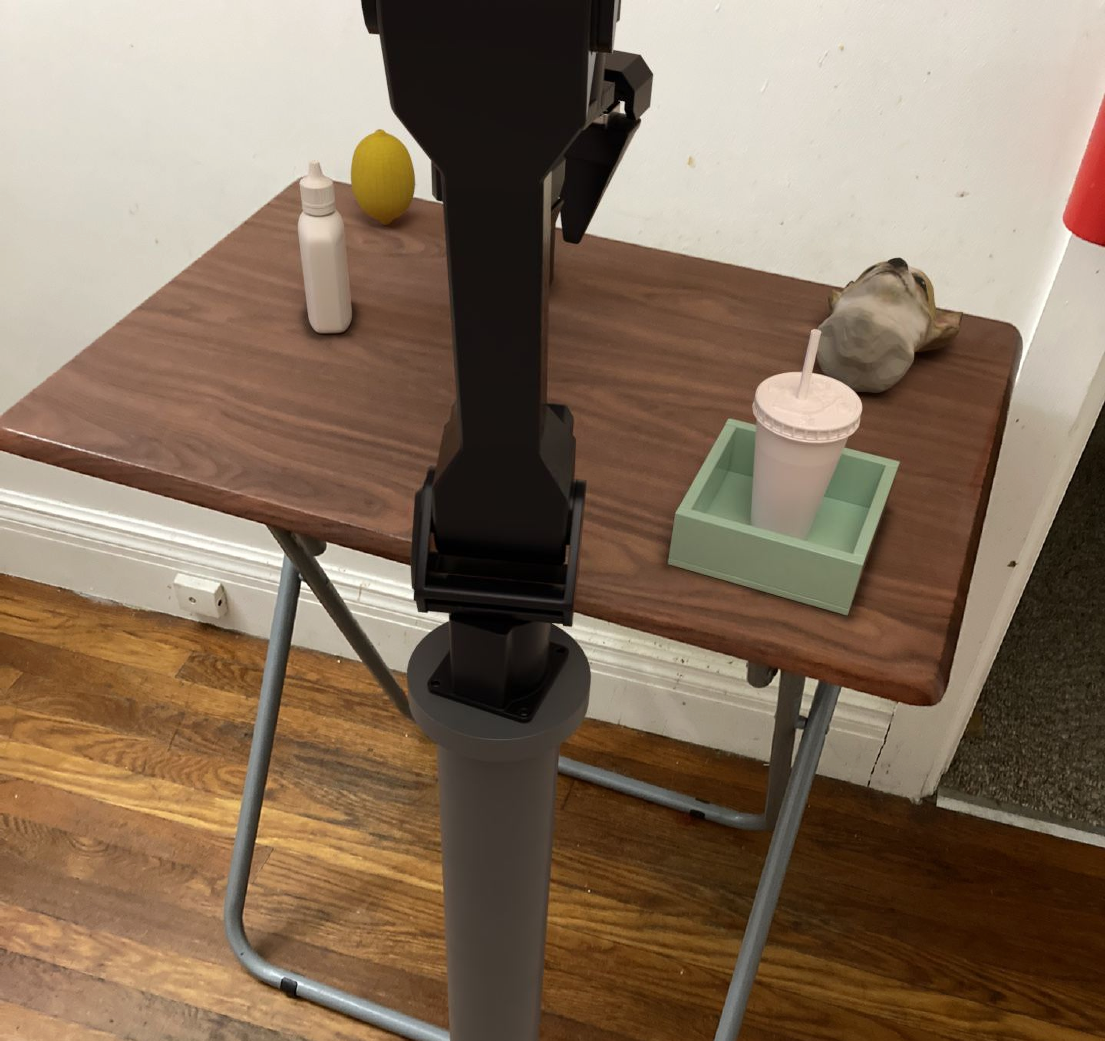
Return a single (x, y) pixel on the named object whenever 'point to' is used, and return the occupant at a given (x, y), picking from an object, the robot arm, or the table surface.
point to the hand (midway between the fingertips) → (544, 272)
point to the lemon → (382, 176)
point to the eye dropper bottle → (323, 254)
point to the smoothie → (798, 444)
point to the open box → (771, 558)
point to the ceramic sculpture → (882, 326)
